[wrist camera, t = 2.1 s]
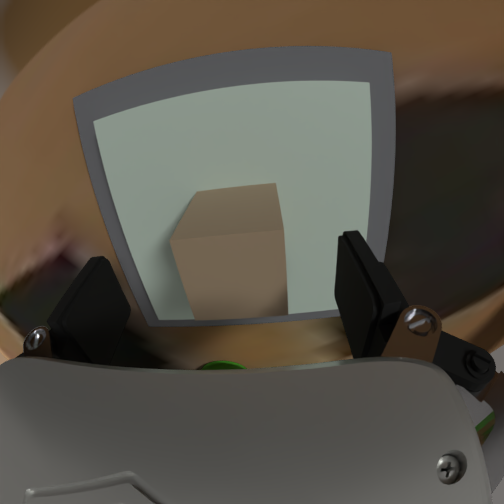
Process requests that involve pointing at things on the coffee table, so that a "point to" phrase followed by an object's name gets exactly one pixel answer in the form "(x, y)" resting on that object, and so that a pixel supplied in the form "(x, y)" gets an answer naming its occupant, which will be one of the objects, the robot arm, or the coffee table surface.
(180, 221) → the lid
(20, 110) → the coffee table surface
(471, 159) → the coffee table surface
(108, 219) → the mat
